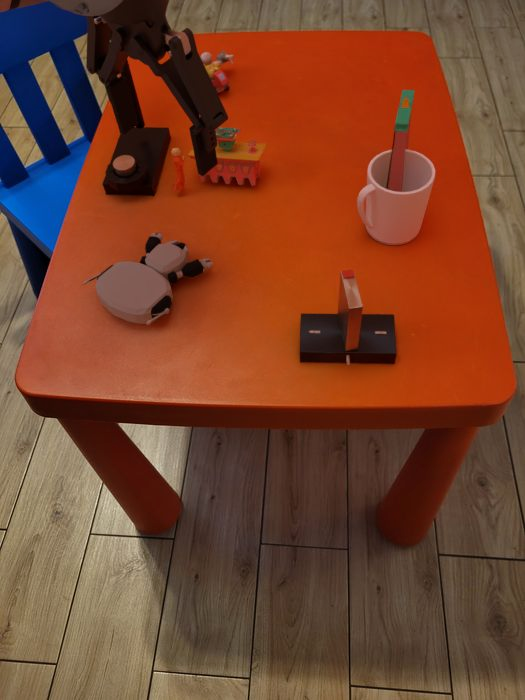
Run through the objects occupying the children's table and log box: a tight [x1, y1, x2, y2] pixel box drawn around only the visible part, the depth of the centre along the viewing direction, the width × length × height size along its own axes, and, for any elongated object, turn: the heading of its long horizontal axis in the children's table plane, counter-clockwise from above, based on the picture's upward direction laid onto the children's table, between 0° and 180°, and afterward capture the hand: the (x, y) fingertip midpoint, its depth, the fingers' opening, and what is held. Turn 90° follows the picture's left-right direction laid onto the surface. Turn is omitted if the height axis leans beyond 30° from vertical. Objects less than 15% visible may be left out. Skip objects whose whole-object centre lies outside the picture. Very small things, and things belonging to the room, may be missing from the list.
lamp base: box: [102, 126, 172, 197], centre depth 99 cm, size 16×8×4 cm, turn 174°
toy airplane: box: [200, 49, 235, 94], centre depth 109 cm, size 9×9×6 cm
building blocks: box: [170, 89, 415, 192], centre depth 90 cm, size 12×35×14 cm, turn 76°
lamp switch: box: [113, 155, 137, 178], centre depth 94 cm, size 3×3×2 cm
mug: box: [356, 148, 436, 246], centre depth 85 cm, size 11×9×10 cm
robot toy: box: [81, 231, 214, 326], centre depth 85 cm, size 12×4×15 cm
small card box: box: [337, 269, 364, 351], centre depth 73 cm, size 6×2×9 cm, turn 6°
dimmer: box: [299, 313, 398, 366], centre depth 78 cm, size 12×10×3 cm
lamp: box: [110, 30, 146, 129], centre depth 95 cm, size 10×7×19 cm
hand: (167, 148), depth 76 cm, fingers open, 13 cm apart
